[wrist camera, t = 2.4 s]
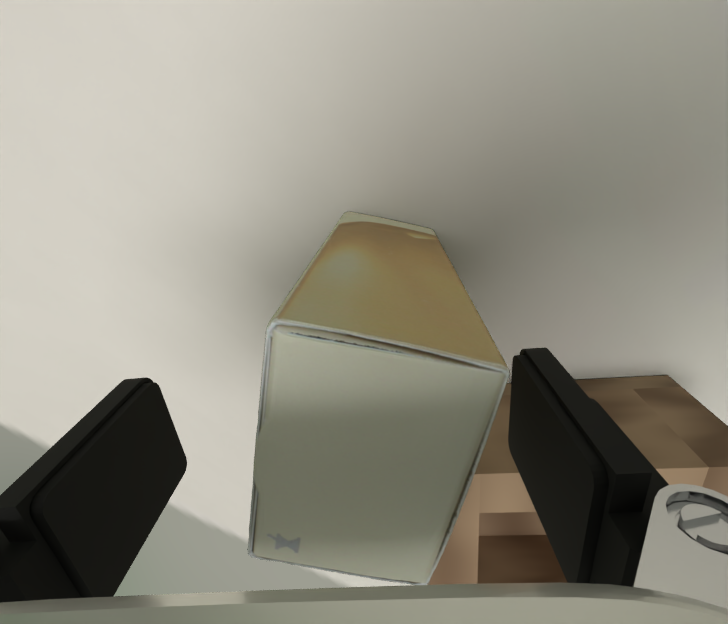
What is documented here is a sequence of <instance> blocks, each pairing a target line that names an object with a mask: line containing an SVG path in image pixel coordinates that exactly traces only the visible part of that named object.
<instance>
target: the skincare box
mask: <svg viewBox="0 0 728 624" xmlns="http://www.w3.org/2000/svg"><path fill="white" fill-rule="evenodd" d="M509 375H510V371H509V369H508V367H507V365H506V363H505V361H504V359H503V358H502V356H501V354H500V352H499V351H498V349H497V347H496V345H495V343H494V341H493V339H492V337H491V335H490V334H489V332H488V330H487V328H486V326H485V325H484V323H483V321H482V319H481V317H480V316H479V314H478V312H477V310H476V308H475V306H474V304H473V303H472V301H471V299H470V297H469V295H468V293H467V292H466V290H465V288H464V286H463V284H462V282H461V280H460V279H459V277H458V275H457V273H456V271H455V269H454V267H453V266H452V264H451V262H450V260H449V258H448V256H447V255H446V253H445V251H444V249H443V247H442V246H441V244H440V242H439V240H438V238H437V236H436V234H435V232H434V230H432V229H429V228H425V227H421V226H417V225H413V224H408V223H403V222H399V221H395V220H390V219H385V218H380V217H375V216H370V215H365V214H360V213H354V212H345V213H344V214H343V215H342V217H341V218H340V220H339V221H338V223H337V224H336V226H335V227H334V229H333V230H332V232H331V233H330V235H329V236H328V238H327V239H326V241H325V242H324V243H323V245H322V246H321V248H320V249H319V251H318V252H317V253H316V255H315V256H314V258H313V259H312V261H311V262H310V264H309V265H308V267H307V268H306V270H305V271H304V273H303V274H302V276H301V277H300V278H299V280H298V281H297V283H296V284H295V286H294V287H293V288H292V290H291V291H290V293H289V294H288V296H287V297H286V299H285V300H284V301H283V303H282V304H281V306H280V307H279V309H278V310H277V312H276V313H275V314H274V316H273V317H272V319H271V320H270V322H269V324H268V326H267V328H266V338H265V348H264V358H263V368H262V378H261V390H260V401H259V411H258V425H257V433H256V445H255V457H254V472H253V489H252V501H251V515H250V525H249V542H248V549H247V550H248V554H249V555H250V556H251V557H253V558H257V559H261V560H269V561H277V562H283V563H287V564H291V565H298V566H303V567H309V568H315V569H320V570H326V571H331V572H338V573H342V574H348V575H354V576H360V577H366V578H371V579H376V580H383V581H390V582H399V583H406V584H412V585H427V583H428V582H429V581H430V578H431V576H432V574H433V572H434V570H435V569H436V567H437V565H438V562H439V560H440V558H441V556H442V554H443V552H444V549H445V547H446V545H447V543H448V540H449V538H450V535H451V534H452V532H453V529H454V526H455V524H456V521H457V519H458V516H459V514H460V511H461V508H462V506H463V503H464V501H465V498H466V496H467V493H468V490H469V488H470V485H471V482H472V480H473V477H474V475H475V472H476V469H477V467H478V464H479V461H480V458H481V455H482V453H483V450H484V448H485V445H486V442H487V439H488V436H489V433H490V430H491V427H492V424H493V421H494V419H495V417H496V413H497V410H498V407H499V404H500V401H501V398H502V395H503V392H504V389H505V386H506V384H507V381H508V378H509Z"/></svg>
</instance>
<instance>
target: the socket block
mask: <svg viewBox="0 0 728 624" xmlns="http://www.w3.org/2000/svg"><path fill="white" fill-rule="evenodd" d="M575 381H576V383H577V384H578V385H579V386H580V387H581V389H582V390H583V391H584V392H585V393H586V394H587V396H588V397H590V398H593V399H594V400H596V401H597V402H598V403H599V404H600V405H601V406H602V408H603V409H604V410H605V411H606V412H607V413H608V415H609V416H610V417H611V418H612V419H613V420H614V422H615V423H616V424H617V425H618V426H619V427H620V428H621V430H622V431H623V432H624V433H625V434H626V435H627V437H628V438H629V439H630V440H631V441H632V442H633V443H634V445H635V446H636V447H637V448H638V449H639V450H640V452H641V453H642V454H643V455H644V456H645V457H646V458H647V460H648V461H649V462H650V463H651V464H652V465H653V467H654V468H655V469H656V470H657V471H658V472H659V474H660V475H661V476H662V477H663V478H664V479H665V480H666V482H667V483H668V484H669V485H674V484H689V485H697V486H701V487H704V488H707V489H711V490H714V491H716V492H719V493H721V494H723V495H725V496H727V497H728V426H727V425H726V424H725V423H723V422H722V421H721V420H720V419H719V418H718V417H716V416H715V415H714V414H713V413H712V412H710V411H709V410H708V409H707V408H706V407H705V406H703V405H702V404H701V403H700V402H699V401H698V400H696V399H695V398H694V397H693V396H692V395H690V394H689V393H688V392H687V391H686V390H685V389H683V388H682V387H681V386H680V385H679V384H678V383H676V382H675V381H674V380H673V379H672V378H671V377H669V376H668V375H662V376H642V377H623V378H603V379H583V380H575ZM510 398H511V383H507V384H506V386H505V389H504V392H503V395H502V398H501V401H500V404H499V407H498V410H497V413H496V417H495V419H494V421H493V424H492V427H491V430H490V433H489V436H488V439H487V442H486V445H485V448H484V450H483V453H482V455H481V458H480V461H479V464H478V467H477V469H476V472H475V475H474V477H473V480H472V482H471V485H470V488H469V490H468V493H467V496H466V498H465V501H464V503H463V506H462V508H461V511H460V514H459V516H458V519H457V521H456V524H455V526H454V529H453V532H452V534H451V535H450V538H449V540H448V543H447V545H446V547H445V549H444V552H443V554H442V556H441V558H440V560H439V562H438V565H437V567H436V569H435V570H434V572H433V574H432V576H431V578H430V581H429V582H428V583H427V585H444V584H487V583H568V582H567V580H566V578H565V576H564V574H563V571H562V569H561V567H560V564H559V562H558V560H557V558H556V555H555V553H554V551H553V549H552V546H551V544H550V542H549V539H548V537H547V535H546V533H545V530H544V528H543V526H542V524H541V521H540V519H539V517H538V514H537V512H536V510H535V508H534V505H533V503H532V501H531V499H530V496H529V494H528V492H527V489H526V487H525V485H524V483H523V480H522V478H521V476H520V474H519V471H518V469H517V467H516V464H515V462H514V460H513V458H512V455H511V453H510V449H509V444H508V431H509V414H510Z"/></svg>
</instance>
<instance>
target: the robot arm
mask: <svg viewBox="0 0 728 624" xmlns="http://www.w3.org/2000/svg"><path fill="white" fill-rule="evenodd" d="M508 444H509V449H510V453H511V455H512V458H513V460H514V462H515V464H516V467H517V469H518V471H519V474H520V476H521V478H522V480H523V483H524V485H525V487H526V489H527V492H528V494H529V496H530V499H531V501H532V503H533V505H534V508H535V510H536V512H537V514H538V517H539V519H540V521H541V524H542V526H543V528H544V530H545V533H546V535H547V537H548V539H549V542H550V544H551V546H552V549H553V551H554V553H555V555H556V558H557V560H558V562H559V564H560V567H561V569H562V571H563V574H564V576H565V578H566V580H567V582H568V583H487V584H444V585H413V586H381V587H349V588H319V589H293V590H265V591H238V592H212V593H187V594H164V595H163V594H162V595H141V596H139V595H138V596H116V597H113V596H114V594H115V592H116V591H117V589H118V587H119V585H120V584H121V582H122V580H123V579H124V577H125V575H126V573H127V572H128V570H129V568H130V566H131V565H132V563H133V561H134V560H135V558H136V556H137V554H138V552H139V551H140V549H141V547H142V546H143V544H144V542H145V541H146V539H147V537H148V535H149V534H150V532H151V530H152V528H153V527H154V525H155V523H156V522H157V520H158V518H159V516H160V515H161V513H162V511H163V509H164V508H165V506H166V504H167V503H168V501H169V499H170V497H171V496H172V494H173V492H174V490H175V489H176V487H177V485H178V484H179V482H180V480H181V478H182V477H183V475H184V473H185V471H186V467H187V460H186V456H185V454H184V451H183V448H182V446H181V443H180V440H179V438H178V435H177V432H176V430H175V427H174V424H173V422H172V419H171V416H170V414H169V411H168V408H167V406H166V403H165V400H164V398H163V395H162V392H161V390H160V387H159V385H158V384H157V383H153V381H152V380H151V379H150V378H136V379H126V380H123V381H122V382H121V383H120V384H119V385H118V386H116V387H115V388H114V389H113V390H112V391H111V392H110V393H109V394H108V395H107V396H106V397H105V398H104V399H103V400H102V401H100V402H99V403H98V404H97V405H96V406H95V407H94V408H93V409H92V410H91V411H90V412H89V413H88V414H87V415H86V416H84V417H83V418H82V419H81V420H80V421H79V422H78V423H77V424H76V425H75V426H74V427H73V428H72V429H71V430H69V431H68V432H67V433H66V434H65V435H64V436H63V437H62V438H61V439H60V440H59V441H58V442H57V443H56V444H55V445H53V446H52V447H51V448H50V449H49V450H48V451H47V452H46V453H45V454H44V455H43V456H42V457H41V458H40V459H39V460H37V462H35V463H34V464H33V465H32V466H31V467H30V468H29V469H28V470H27V471H26V472H25V473H24V474H23V475H21V476H20V477H19V478H18V479H17V480H16V481H15V482H14V483H13V484H12V485H11V486H10V487H9V488H8V489H6V491H4V492H3V493H2V494H1V495H0V624H728V497H727V496H725V495H723V494H721V493H719V492H716V491H714V490H711V489H707V488H704V487H701V486H697V485H689V484H674V485H669V484H668V483H667V482H666V480H665V479H664V478H663V477H662V476H661V475H660V474H659V472H658V471H657V470H656V469H655V468H654V467H653V465H652V464H651V463H650V462H649V461H648V460H647V458H646V457H645V456H644V455H643V454H642V453H641V452H640V450H639V449H638V448H637V447H636V446H635V445H634V443H633V442H632V441H631V440H630V439H629V438H628V437H627V435H626V434H625V433H624V432H623V431H622V430H621V428H620V427H619V426H618V425H617V424H616V423H615V422H614V420H613V419H612V418H611V417H610V416H609V415H608V413H607V412H606V411H605V410H604V409H603V408H602V406H601V405H600V404H599V403H598V402H597V401H596V400H594V399H593V398H590V397H588V396H587V394H586V393H585V392H584V391H583V390H582V389H581V387H580V386H579V385H578V384H577V383H576V381H575V380H574V379H573V378H572V377H571V376H570V374H569V373H568V372H567V371H566V370H565V368H564V367H563V366H562V365H561V364H560V363H559V361H558V360H557V359H556V358H555V357H554V356H553V354H552V353H551V352H550V351H549V350H548V349H547V348H533V349H522V350H521V352H520V355H516V356H514V357H513V364H512V381H511V398H510V414H509V431H508Z"/></svg>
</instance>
